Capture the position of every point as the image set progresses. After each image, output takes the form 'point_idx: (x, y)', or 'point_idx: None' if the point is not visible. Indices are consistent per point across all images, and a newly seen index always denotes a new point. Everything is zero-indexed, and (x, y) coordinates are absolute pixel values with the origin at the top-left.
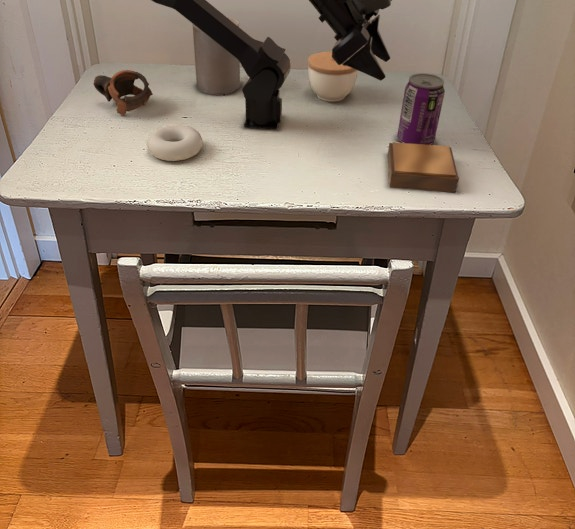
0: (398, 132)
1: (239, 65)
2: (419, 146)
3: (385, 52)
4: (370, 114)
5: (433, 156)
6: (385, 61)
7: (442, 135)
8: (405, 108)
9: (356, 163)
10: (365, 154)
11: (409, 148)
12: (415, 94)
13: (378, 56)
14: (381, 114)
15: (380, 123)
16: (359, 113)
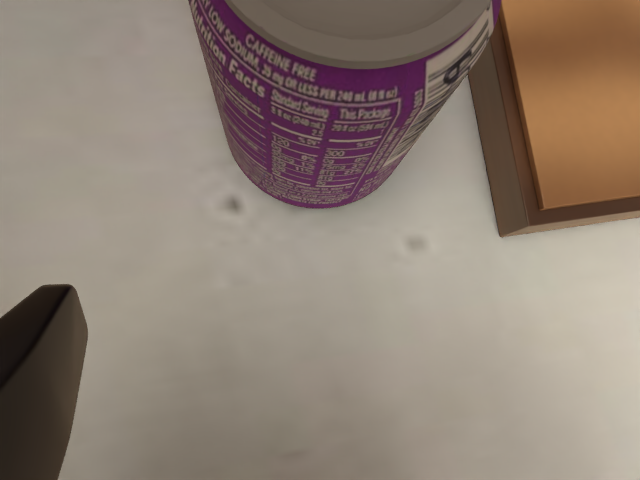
0: (351, 197)
1: None
2: (540, 76)
3: (37, 362)
4: None
5: (615, 11)
6: (84, 339)
7: None
8: (415, 134)
9: (617, 366)
10: (522, 338)
11: (579, 121)
12: (491, 27)
13: (63, 449)
14: None
15: (165, 312)
16: None
